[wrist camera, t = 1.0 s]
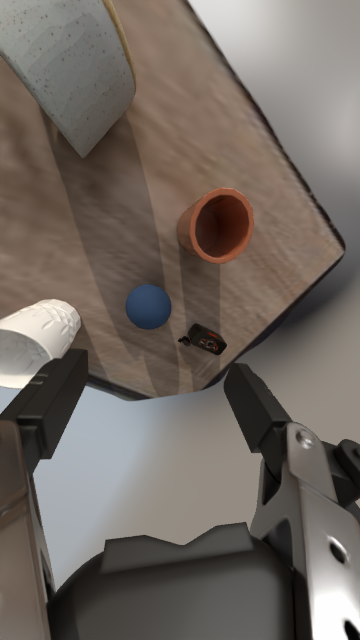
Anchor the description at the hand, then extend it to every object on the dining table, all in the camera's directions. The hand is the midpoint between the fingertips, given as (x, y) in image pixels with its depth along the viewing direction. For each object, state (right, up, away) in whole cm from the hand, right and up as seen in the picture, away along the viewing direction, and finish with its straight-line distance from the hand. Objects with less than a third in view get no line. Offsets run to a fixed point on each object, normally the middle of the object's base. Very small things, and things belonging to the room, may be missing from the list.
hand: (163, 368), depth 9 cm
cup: (+4, +15, +14) cm, 21 cm away
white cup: (-18, +3, +17) cm, 25 cm away
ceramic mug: (-9, +26, +7) cm, 28 cm away
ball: (-3, +5, +15) cm, 16 cm away
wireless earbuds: (+4, 0, +22) cm, 23 cm away
